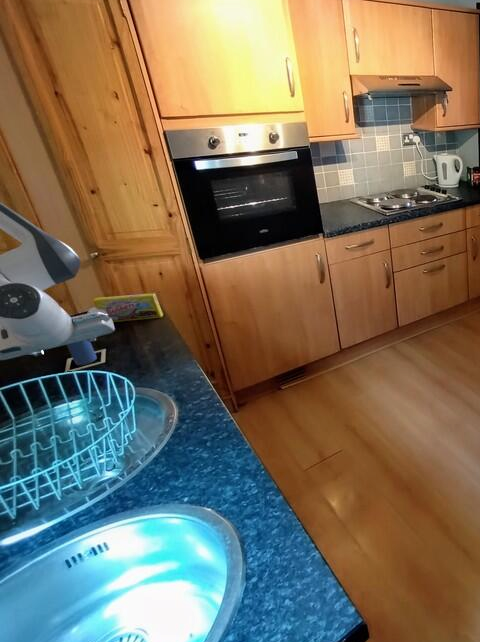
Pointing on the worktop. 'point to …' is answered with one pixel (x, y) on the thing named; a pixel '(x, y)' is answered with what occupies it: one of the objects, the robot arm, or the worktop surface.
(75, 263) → the robot arm
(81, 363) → the blue bottle
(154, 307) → the candy box
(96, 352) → the spot outline
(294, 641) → the worktop surface
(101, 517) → the worktop surface
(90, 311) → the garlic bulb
